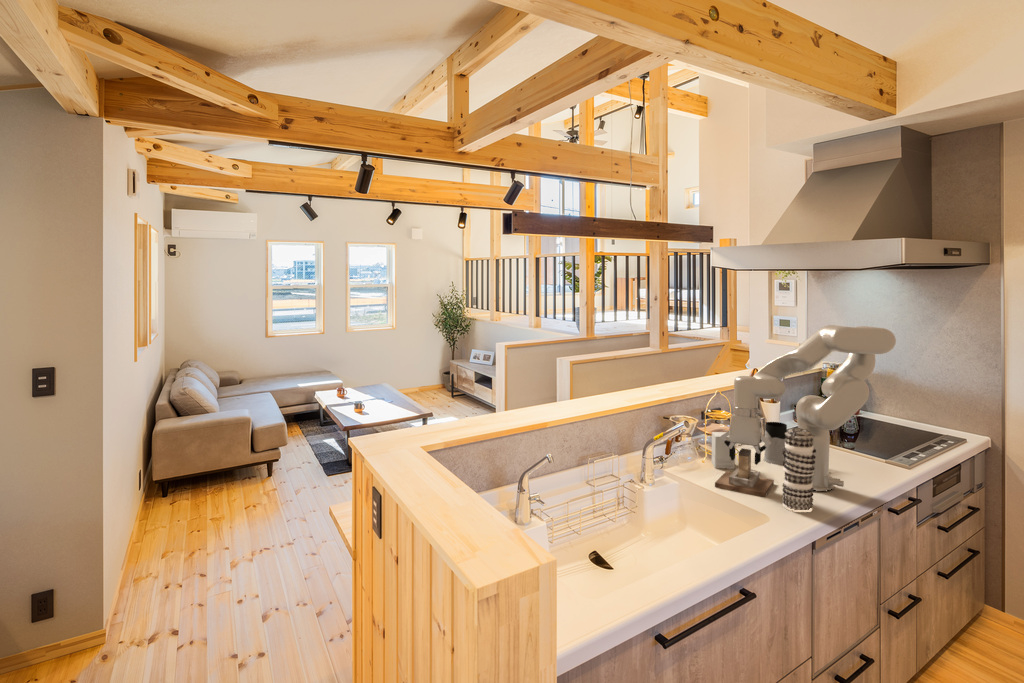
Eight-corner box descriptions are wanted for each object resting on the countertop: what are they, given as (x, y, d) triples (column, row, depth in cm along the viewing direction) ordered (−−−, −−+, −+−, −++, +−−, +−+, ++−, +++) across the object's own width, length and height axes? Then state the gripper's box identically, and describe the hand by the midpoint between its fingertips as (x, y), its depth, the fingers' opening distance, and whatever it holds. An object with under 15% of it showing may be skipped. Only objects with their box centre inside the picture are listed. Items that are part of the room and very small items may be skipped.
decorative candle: (792, 499, 165) (794, 424, 163) (820, 509, 157) (823, 430, 155) (774, 505, 161) (776, 428, 159) (802, 516, 153) (805, 435, 150)
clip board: (773, 484, 178) (773, 473, 178) (764, 497, 167) (764, 485, 167) (726, 475, 188) (726, 464, 188) (714, 486, 177) (715, 475, 177)
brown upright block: (750, 479, 179) (751, 449, 178) (747, 484, 175) (748, 453, 174) (741, 478, 181) (741, 448, 180) (738, 482, 177) (738, 452, 176)
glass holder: (762, 456, 208) (762, 420, 207) (801, 459, 203) (802, 423, 202) (764, 463, 200) (765, 426, 199) (805, 466, 195) (806, 428, 194)
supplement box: (735, 469, 194) (735, 437, 193) (714, 468, 196) (715, 436, 195) (730, 462, 201) (731, 431, 200) (711, 462, 203) (711, 431, 202)
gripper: (775, 412, 173) (774, 463, 175) (722, 406, 184) (722, 454, 185) (770, 417, 167) (769, 469, 169) (716, 410, 178) (715, 459, 180)
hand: (744, 461), depth 177 cm, fingers open, 7 cm apart
